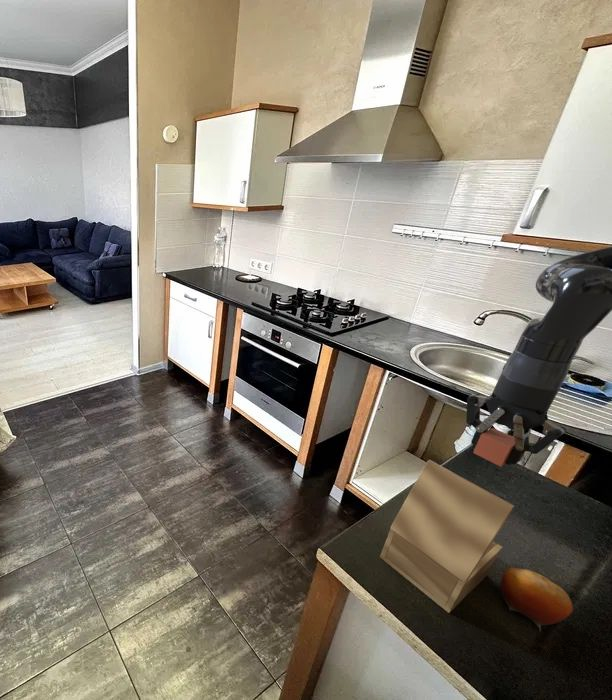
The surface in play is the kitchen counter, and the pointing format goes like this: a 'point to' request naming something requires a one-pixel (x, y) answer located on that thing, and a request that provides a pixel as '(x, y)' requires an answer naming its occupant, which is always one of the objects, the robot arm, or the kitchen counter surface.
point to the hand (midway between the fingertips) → (492, 454)
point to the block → (495, 446)
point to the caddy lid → (451, 519)
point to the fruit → (535, 596)
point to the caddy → (434, 571)
